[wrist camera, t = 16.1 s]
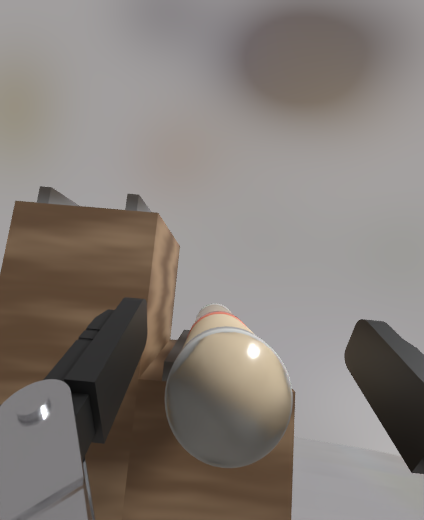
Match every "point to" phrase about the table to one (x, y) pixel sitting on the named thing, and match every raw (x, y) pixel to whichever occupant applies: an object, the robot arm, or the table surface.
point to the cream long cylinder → (227, 392)
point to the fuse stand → (148, 369)
